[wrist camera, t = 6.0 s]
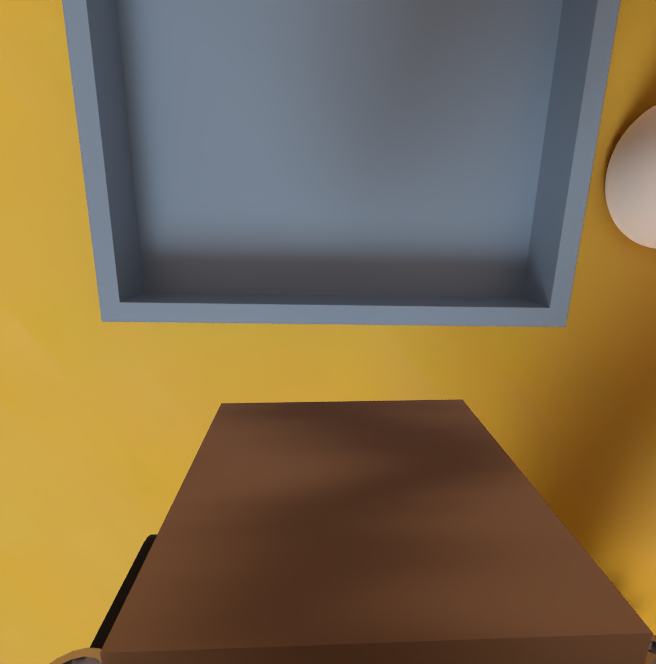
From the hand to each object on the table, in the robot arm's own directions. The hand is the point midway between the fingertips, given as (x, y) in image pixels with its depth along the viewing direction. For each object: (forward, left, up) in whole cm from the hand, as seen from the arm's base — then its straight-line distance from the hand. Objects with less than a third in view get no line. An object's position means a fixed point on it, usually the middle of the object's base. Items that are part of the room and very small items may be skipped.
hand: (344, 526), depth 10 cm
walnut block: (0, 0, -1) cm, 1 cm away
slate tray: (0, -14, -16) cm, 21 cm away
